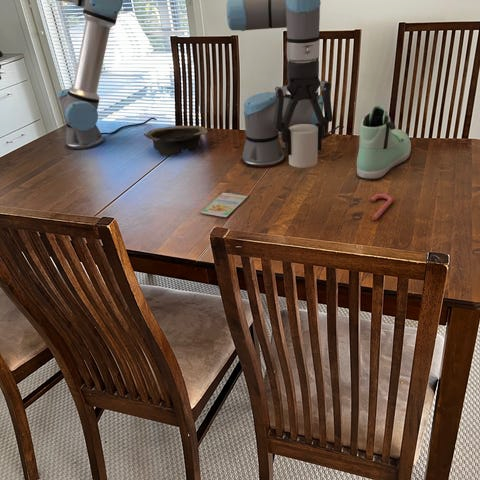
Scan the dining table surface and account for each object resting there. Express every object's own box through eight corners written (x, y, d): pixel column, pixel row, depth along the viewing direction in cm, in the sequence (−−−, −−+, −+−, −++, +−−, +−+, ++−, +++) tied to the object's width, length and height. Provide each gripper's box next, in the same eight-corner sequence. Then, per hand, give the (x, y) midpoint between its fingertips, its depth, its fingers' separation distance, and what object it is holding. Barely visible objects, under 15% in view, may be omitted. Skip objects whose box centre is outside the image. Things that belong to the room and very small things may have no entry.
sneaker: (416, 146, 176) (423, 89, 165) (393, 183, 150) (400, 120, 140) (378, 142, 182) (383, 87, 171) (351, 177, 156) (354, 116, 146)
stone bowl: (160, 165, 176) (155, 140, 172) (140, 150, 196) (135, 128, 192) (220, 149, 185) (217, 125, 181) (195, 136, 205) (192, 115, 201)
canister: (292, 169, 124) (291, 134, 119) (286, 158, 130) (285, 125, 125) (320, 166, 124) (321, 131, 119) (313, 155, 131) (314, 122, 126)
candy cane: (355, 217, 134) (355, 212, 134) (376, 195, 144) (376, 191, 144) (376, 222, 131) (376, 217, 130) (395, 199, 141) (396, 195, 141)
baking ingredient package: (199, 211, 142) (223, 191, 153) (199, 213, 142) (223, 192, 154) (226, 216, 138) (248, 195, 150) (226, 217, 139) (248, 196, 150)
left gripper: (-89, 21, 150) (-62, 90, 161) (-3, 12, 158) (17, 78, 169) (-85, 19, 156) (-60, 85, 167) (-3, 10, 163) (16, 74, 175)
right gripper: (265, 67, 109) (269, 161, 121) (349, 57, 112) (345, 150, 124) (257, 61, 115) (261, 151, 127) (337, 52, 118) (334, 141, 130)
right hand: (303, 150), depth 126 cm, fingers closed on canister, 8 cm apart
